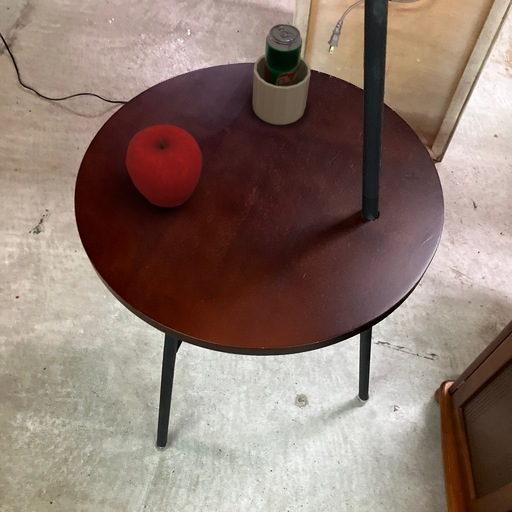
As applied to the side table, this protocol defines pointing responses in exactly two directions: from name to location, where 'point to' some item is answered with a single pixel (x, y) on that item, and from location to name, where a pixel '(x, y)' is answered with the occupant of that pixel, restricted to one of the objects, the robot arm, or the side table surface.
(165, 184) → the apple
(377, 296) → the side table surface
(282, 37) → the soda can
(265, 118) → the cup
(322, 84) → the side table surface
